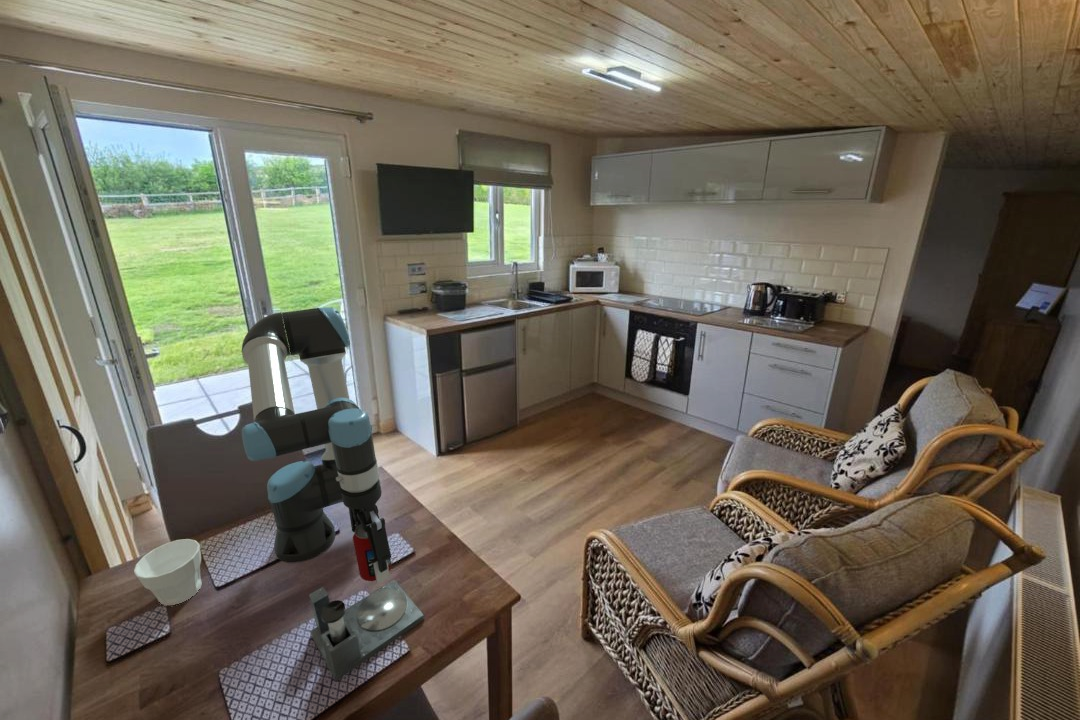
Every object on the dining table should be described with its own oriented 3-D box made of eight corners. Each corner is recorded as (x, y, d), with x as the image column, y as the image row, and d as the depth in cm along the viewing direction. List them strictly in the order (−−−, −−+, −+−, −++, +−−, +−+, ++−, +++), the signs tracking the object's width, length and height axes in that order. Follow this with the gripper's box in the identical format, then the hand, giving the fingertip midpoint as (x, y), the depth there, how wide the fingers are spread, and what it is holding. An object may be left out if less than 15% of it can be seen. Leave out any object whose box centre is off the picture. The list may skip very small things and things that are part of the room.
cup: (222, 582, 114) (210, 547, 110) (167, 622, 103) (152, 585, 99) (193, 566, 118) (181, 532, 115) (137, 603, 108) (121, 567, 104)
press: (310, 634, 100) (301, 598, 96) (394, 583, 113) (388, 550, 109) (335, 681, 90) (326, 644, 86) (424, 619, 103) (419, 584, 99)
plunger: (325, 642, 92) (317, 609, 89) (346, 628, 95) (339, 596, 92) (333, 657, 89) (325, 623, 86) (355, 642, 92) (348, 609, 89)
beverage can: (382, 586, 96) (374, 541, 92) (353, 581, 97) (344, 537, 93) (397, 562, 102) (390, 519, 98) (370, 558, 104) (362, 515, 100)
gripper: (323, 470, 96) (341, 555, 104) (362, 514, 83) (379, 607, 91) (357, 457, 101) (372, 539, 109) (400, 496, 88) (413, 586, 95)
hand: (375, 570), depth 100 cm, fingers closed on beverage can, 7 cm apart
